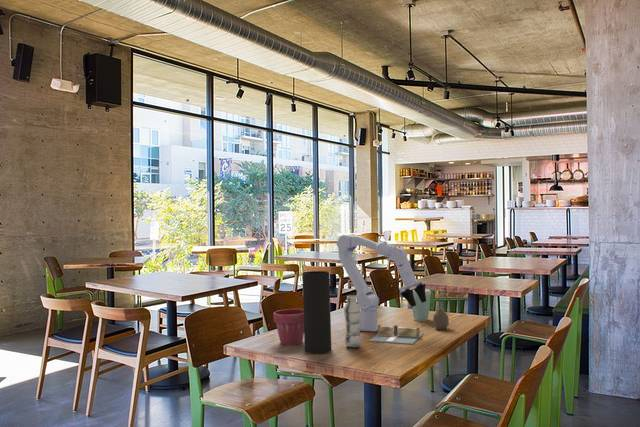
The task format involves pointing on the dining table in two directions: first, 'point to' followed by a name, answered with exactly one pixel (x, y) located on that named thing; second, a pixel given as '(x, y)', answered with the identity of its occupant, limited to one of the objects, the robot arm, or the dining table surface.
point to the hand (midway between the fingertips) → (419, 304)
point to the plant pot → (290, 325)
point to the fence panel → (409, 331)
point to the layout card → (395, 339)
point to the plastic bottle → (352, 322)
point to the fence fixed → (387, 330)
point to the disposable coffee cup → (421, 306)
